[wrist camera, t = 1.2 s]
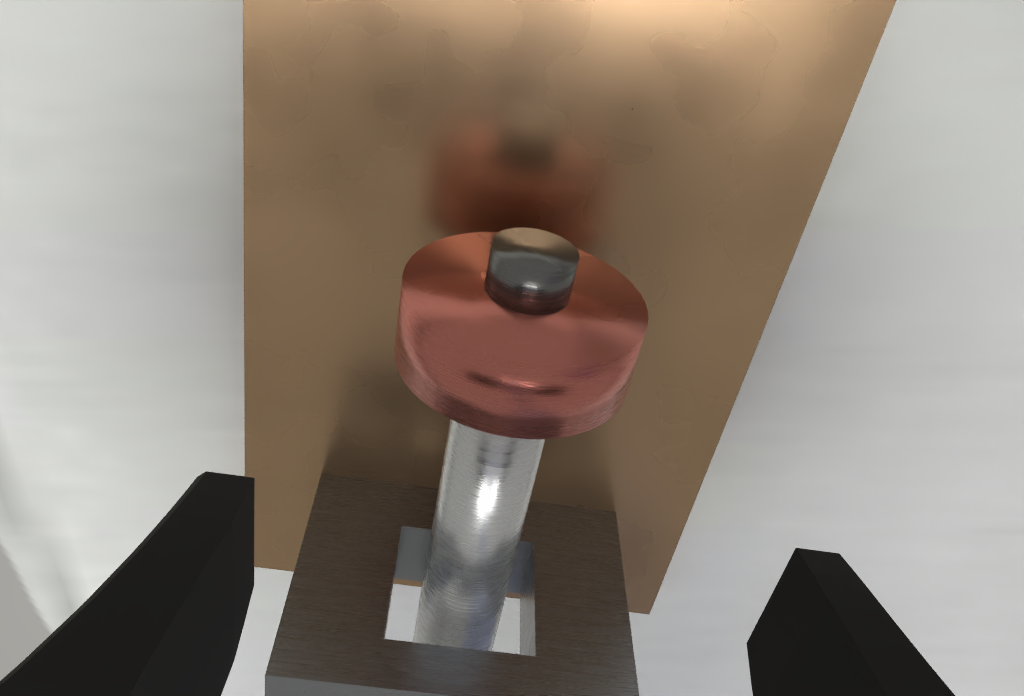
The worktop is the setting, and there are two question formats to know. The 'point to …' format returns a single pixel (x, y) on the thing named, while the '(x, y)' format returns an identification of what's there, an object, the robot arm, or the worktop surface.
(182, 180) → the worktop surface
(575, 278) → the red-capped metal rod
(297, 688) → the wooden base with bracket
